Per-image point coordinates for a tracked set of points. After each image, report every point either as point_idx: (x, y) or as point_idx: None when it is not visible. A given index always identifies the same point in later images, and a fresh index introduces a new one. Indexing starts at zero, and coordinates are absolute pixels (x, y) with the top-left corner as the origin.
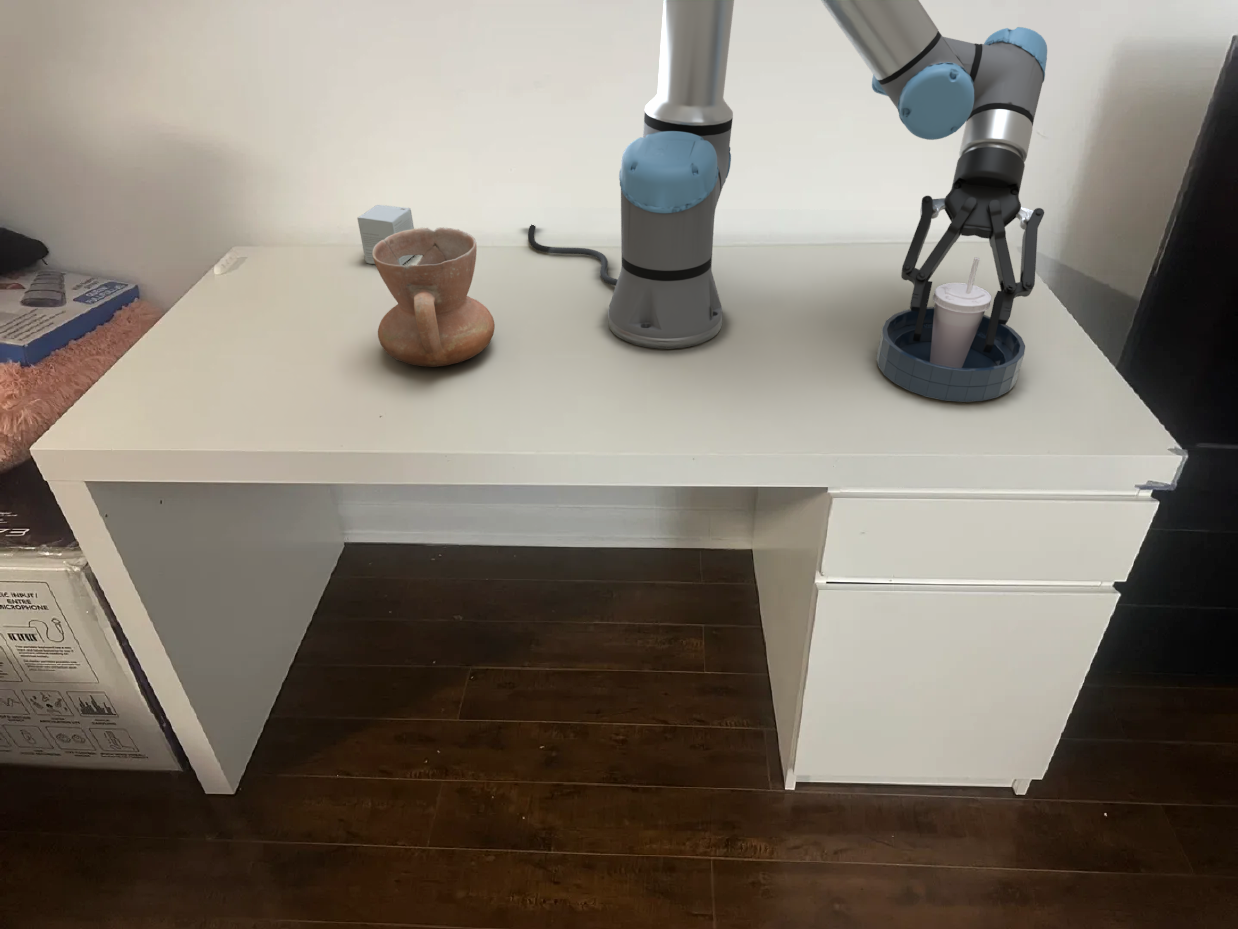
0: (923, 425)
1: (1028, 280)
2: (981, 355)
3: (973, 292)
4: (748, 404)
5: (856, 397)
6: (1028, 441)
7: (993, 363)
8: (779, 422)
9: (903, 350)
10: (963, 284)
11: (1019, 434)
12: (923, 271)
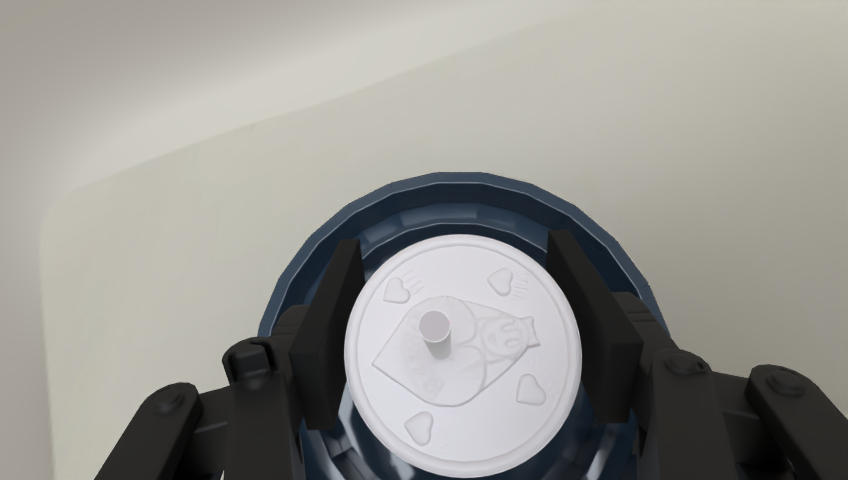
0: (466, 124)
1: (162, 417)
2: (371, 471)
3: (419, 363)
4: (795, 70)
5: (612, 169)
6: (282, 145)
7: (340, 433)
8: (711, 41)
9: (575, 417)
10: (471, 461)
11: (296, 160)
12: (688, 378)
